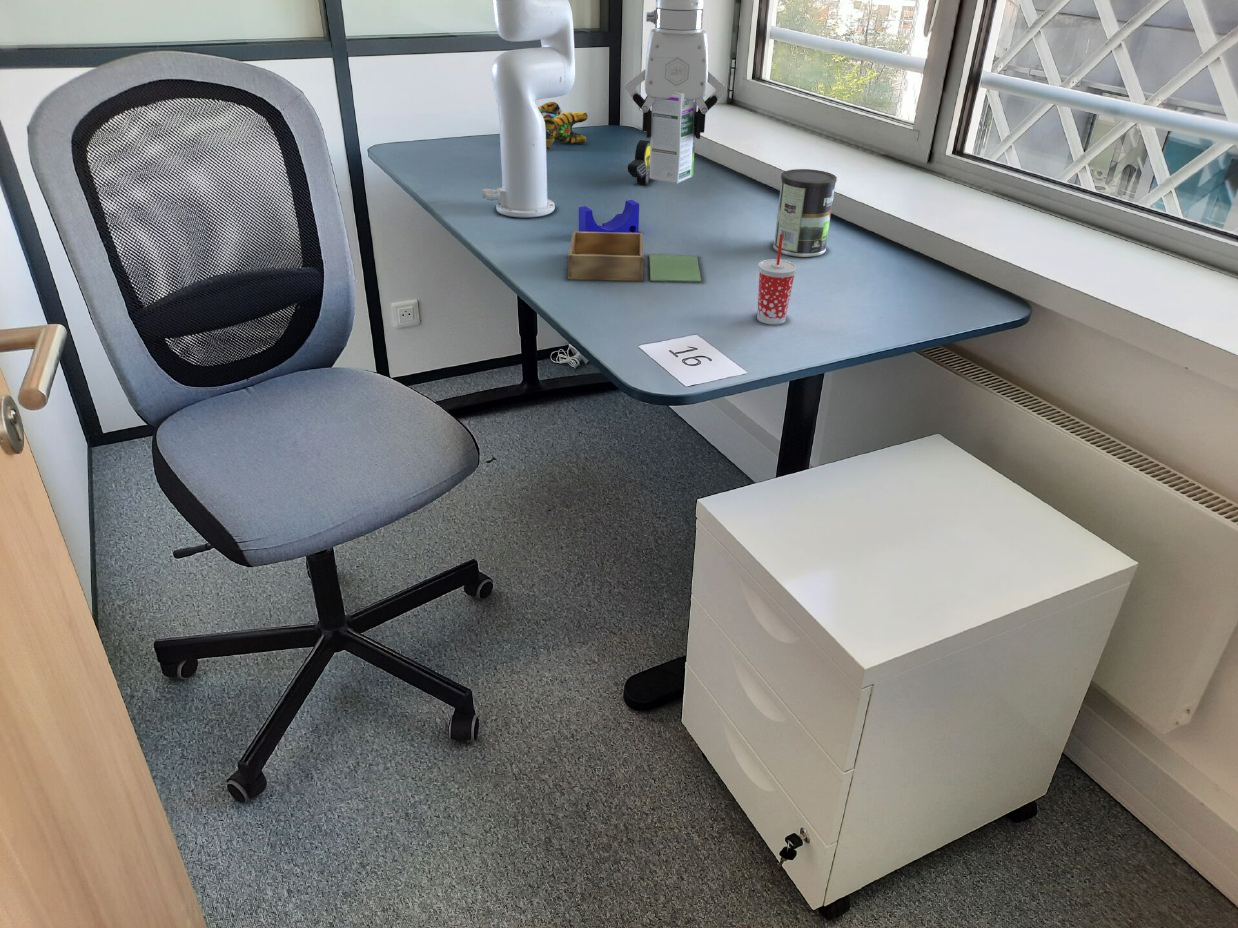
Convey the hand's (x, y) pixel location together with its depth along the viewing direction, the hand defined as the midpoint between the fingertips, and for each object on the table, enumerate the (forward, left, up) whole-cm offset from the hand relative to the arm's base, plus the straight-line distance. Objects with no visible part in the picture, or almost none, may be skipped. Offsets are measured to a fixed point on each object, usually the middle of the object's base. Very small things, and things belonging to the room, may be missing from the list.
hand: (673, 136), depth 149 cm
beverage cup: (+17, -22, -24) cm, 36 cm away
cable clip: (-11, +19, -24) cm, 32 cm away
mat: (+2, 0, -23) cm, 23 cm away
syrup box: (0, 0, -7) cm, 7 cm away
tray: (-11, 0, -23) cm, 26 cm away
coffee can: (+27, +13, -24) cm, 38 cm away
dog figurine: (-29, +96, -24) cm, 103 cm away
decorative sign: (-2, +61, -24) cm, 65 cm away
